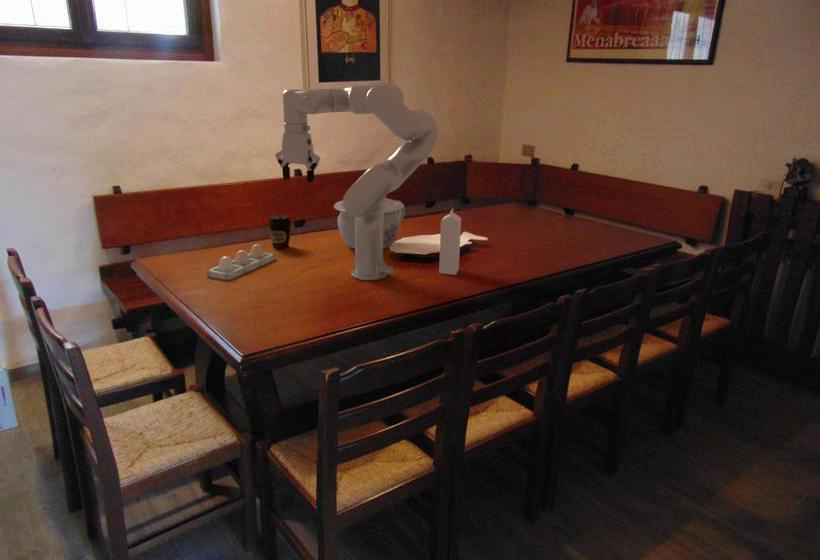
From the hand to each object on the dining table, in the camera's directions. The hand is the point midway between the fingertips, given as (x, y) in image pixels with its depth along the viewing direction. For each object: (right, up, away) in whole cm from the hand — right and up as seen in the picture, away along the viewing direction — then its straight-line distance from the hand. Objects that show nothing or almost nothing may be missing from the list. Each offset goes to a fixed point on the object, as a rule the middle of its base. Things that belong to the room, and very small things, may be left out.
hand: (298, 180), depth 199 cm
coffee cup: (-12, -22, +28) cm, 37 cm away
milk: (+52, -31, +7) cm, 60 cm away
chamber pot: (+22, -21, +34) cm, 45 cm away
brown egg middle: (-20, -29, +4) cm, 36 cm away
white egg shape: (-23, -32, -3) cm, 40 cm away
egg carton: (-24, -30, +6) cm, 39 cm away
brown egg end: (-17, -27, +11) cm, 33 cm away
